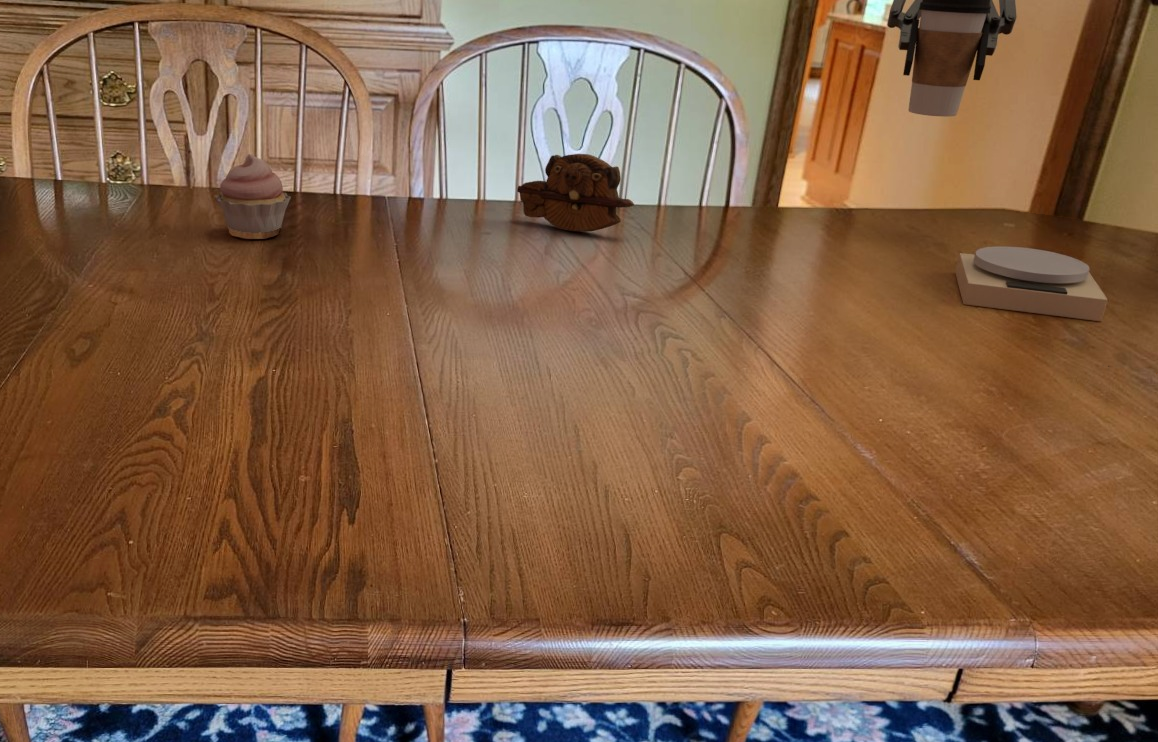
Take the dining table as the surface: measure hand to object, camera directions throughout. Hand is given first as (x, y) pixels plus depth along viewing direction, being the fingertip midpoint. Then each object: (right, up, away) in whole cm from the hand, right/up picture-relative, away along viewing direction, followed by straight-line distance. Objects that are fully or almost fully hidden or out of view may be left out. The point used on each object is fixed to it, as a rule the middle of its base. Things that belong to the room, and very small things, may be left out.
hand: (943, 70), depth 138 cm
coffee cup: (+1, -4, +5) cm, 7 cm away
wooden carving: (-46, -18, +9) cm, 50 cm away
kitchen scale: (+5, -30, -10) cm, 32 cm away
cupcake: (-86, -21, +1) cm, 89 cm away
